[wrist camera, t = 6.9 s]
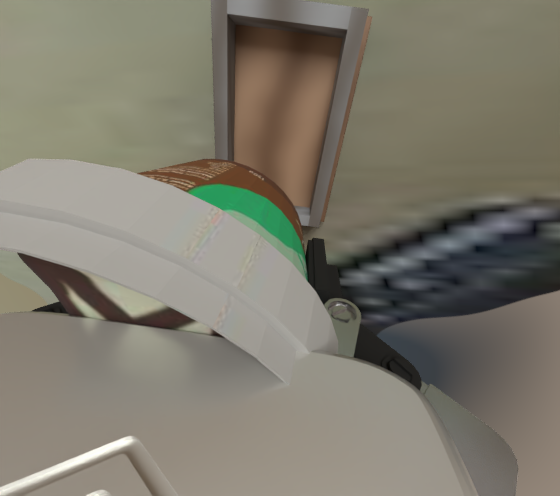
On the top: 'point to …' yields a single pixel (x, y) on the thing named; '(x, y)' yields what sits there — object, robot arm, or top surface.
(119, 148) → the top surface
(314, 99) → the cradle
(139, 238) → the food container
